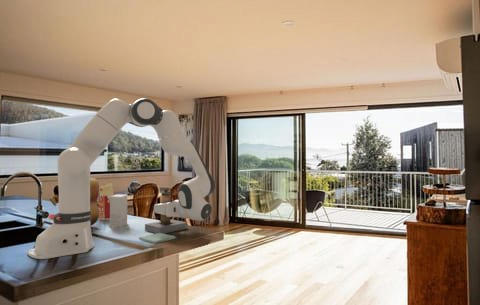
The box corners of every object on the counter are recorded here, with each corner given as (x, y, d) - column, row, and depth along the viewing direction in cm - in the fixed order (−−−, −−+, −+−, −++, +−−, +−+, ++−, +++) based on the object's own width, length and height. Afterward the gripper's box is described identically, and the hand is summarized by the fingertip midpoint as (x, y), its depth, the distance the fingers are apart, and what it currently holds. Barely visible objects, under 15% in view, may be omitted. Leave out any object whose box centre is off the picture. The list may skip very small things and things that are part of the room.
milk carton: (112, 216, 203) (112, 182, 203) (118, 218, 196) (118, 183, 196) (96, 218, 197) (96, 183, 197) (101, 220, 190) (101, 184, 190)
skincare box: (115, 223, 181) (115, 194, 182) (128, 223, 181) (128, 194, 181) (109, 227, 173) (109, 196, 173) (122, 227, 173) (122, 196, 173)
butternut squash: (97, 229, 167) (98, 178, 167) (67, 231, 163) (67, 178, 163) (100, 224, 180) (100, 176, 180) (71, 225, 176) (72, 176, 176)
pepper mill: (164, 225, 164) (165, 188, 165) (158, 223, 167) (159, 187, 168) (172, 223, 168) (172, 187, 168) (166, 222, 171) (166, 187, 171)
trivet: (154, 243, 142) (154, 241, 142) (138, 239, 149) (138, 237, 149) (175, 238, 150) (175, 236, 150) (160, 234, 157) (160, 232, 157)
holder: (160, 234, 158) (160, 227, 158) (144, 230, 166) (144, 224, 166) (187, 228, 170) (187, 222, 170) (171, 225, 178) (171, 219, 178)
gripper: (199, 199, 167) (181, 196, 176) (165, 203, 152) (147, 200, 161) (199, 212, 167) (181, 209, 176) (165, 217, 152) (146, 213, 161)
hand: (164, 205), depth 168 cm, fingers closed on pepper mill, 5 cm apart
